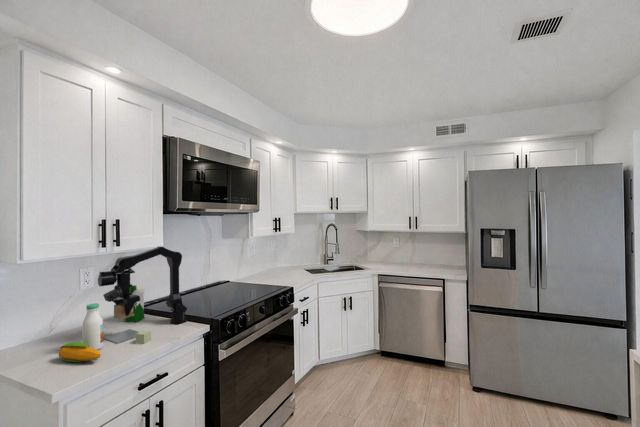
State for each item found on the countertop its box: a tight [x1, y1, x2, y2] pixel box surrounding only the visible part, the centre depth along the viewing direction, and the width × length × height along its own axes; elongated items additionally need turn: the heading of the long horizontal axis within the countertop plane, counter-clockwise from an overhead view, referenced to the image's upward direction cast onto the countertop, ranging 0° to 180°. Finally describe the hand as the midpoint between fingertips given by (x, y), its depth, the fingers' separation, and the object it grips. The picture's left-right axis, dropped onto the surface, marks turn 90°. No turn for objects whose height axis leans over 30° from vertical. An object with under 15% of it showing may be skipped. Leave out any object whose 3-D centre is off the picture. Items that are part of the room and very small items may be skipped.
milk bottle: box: [81, 303, 104, 351], centre depth 144 cm, size 8×8×20 cm
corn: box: [57, 341, 102, 363], centre depth 133 cm, size 7×8×20 cm
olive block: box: [135, 330, 152, 345], centre depth 152 cm, size 4×4×4 cm
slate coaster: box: [103, 328, 140, 345], centre depth 159 cm, size 13×13×1 cm
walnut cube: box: [113, 304, 133, 320], centre depth 159 cm, size 6×6×6 cm
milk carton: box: [124, 284, 146, 323], centre depth 184 cm, size 9×9×20 cm
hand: (123, 314), depth 159 cm, fingers closed on walnut cube, 6 cm apart
